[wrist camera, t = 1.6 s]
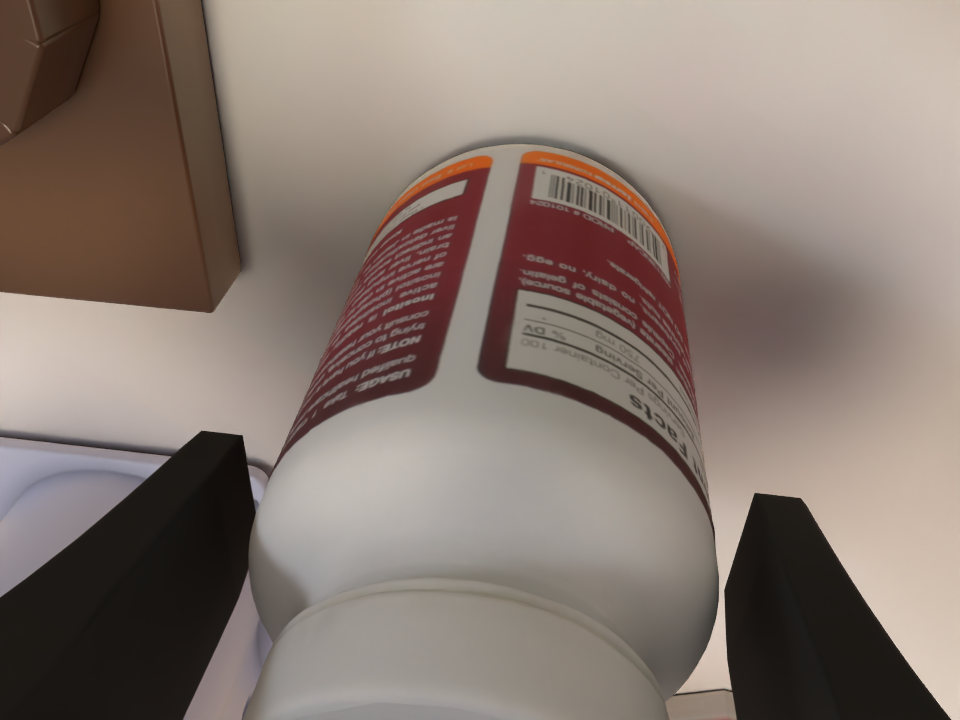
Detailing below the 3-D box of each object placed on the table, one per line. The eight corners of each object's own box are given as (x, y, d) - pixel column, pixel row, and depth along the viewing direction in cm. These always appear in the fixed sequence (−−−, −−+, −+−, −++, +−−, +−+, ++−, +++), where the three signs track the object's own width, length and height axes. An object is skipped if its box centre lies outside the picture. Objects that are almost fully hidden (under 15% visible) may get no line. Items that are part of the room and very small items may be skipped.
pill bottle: (408, 402, 20) (248, 934, 11) (343, 149, 17) (38, 637, 8) (684, 389, 19) (745, 974, 10) (677, 115, 15) (761, 643, 7)
